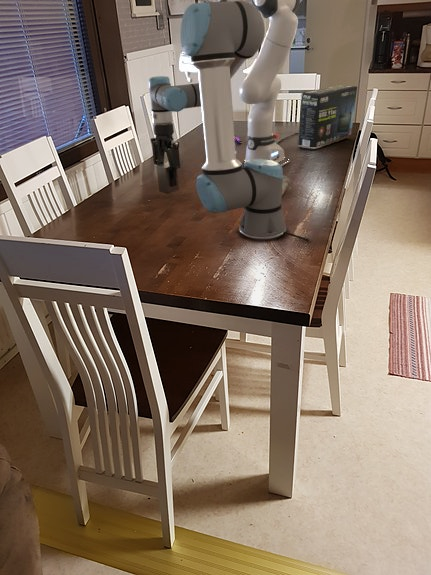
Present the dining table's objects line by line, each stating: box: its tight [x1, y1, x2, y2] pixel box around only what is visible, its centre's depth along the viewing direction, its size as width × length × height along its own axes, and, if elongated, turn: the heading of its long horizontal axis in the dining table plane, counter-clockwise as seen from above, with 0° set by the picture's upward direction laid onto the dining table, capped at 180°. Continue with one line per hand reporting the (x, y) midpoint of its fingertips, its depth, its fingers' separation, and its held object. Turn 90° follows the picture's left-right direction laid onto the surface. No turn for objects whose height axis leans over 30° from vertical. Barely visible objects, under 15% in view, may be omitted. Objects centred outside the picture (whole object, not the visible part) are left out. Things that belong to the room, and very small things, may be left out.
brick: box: [156, 161, 180, 195], centre depth 179 cm, size 5×6×10 cm
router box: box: [297, 84, 358, 151], centre depth 238 cm, size 36×11×27 cm, turn 134°
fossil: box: [282, 175, 291, 195], centre depth 182 cm, size 18×11×15 cm
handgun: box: [235, 136, 243, 145], centre depth 256 cm, size 21×8×2 cm, turn 11°
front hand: (168, 184), depth 180 cm, fingers closed on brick, 5 cm apart
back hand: (196, 82), depth 223 cm, fingers open, 8 cm apart
